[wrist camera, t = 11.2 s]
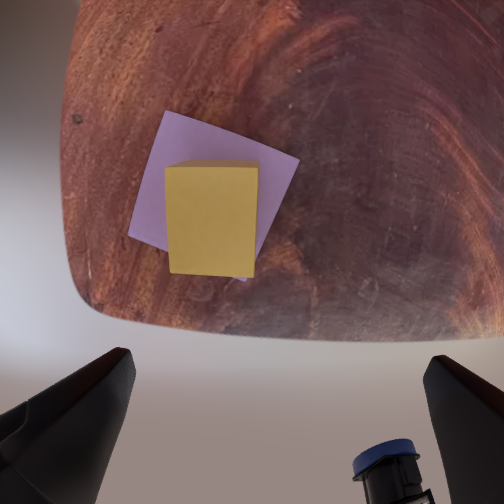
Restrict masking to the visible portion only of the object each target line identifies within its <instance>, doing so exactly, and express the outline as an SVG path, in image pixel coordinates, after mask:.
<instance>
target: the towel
mask: <svg viewBox="0 0 504 504" xmlns="http://www.w3.org/2000/svg"><path fill="white" fill-rule="evenodd" d="M185 160H252V161H260V167H259V192H258V216H257V240H256V257H255V260H256V258H257V256H258V253H259V251H260V249H261V247H262V244H263V242H264V240H265V238H266V236H267V233H268V231H269V229H270V227H271V224H272V222H273V220H274V218H275V215H276V213H277V211H278V209H279V207H280V204H281V202H282V200H283V198H284V195H285V193H286V191H287V189H288V186H289V184H290V182H291V180H292V177H293V175H294V173H295V171H296V168H297V166H298V164H299V162H300V160H299V159H297V158H295V157H292V156H290V155H288V154H285V153H283V152H281V151H278V150H276V149H274V148H271V147H269V146H266V145H264V144H261V143H259V142H256V141H254V140H251V139H249V138H246V137H244V136H241V135H238V134H236V133H233V132H230V131H228V130H225V129H222V128H219V127H216V126H214V125H211V124H208V123H205V122H202V121H199V120H196V119H193V118H190V117H187V116H184V115H181V114H177V113H174V112H171V111H168V110H166V111H165V113H164V116H163V119H162V121H161V124H160V127H159V130H158V132H157V135H156V138H155V141H154V144H153V147H152V150H151V153H150V156H149V159H148V162H147V165H146V169H145V172H144V175H143V179H142V182H141V185H140V189H139V193H138V196H137V200H136V203H135V207H134V211H133V215H132V219H131V223H130V227H129V231H128V236H130V237H133V238H135V239H138V240H140V241H143V242H145V243H147V244H150V245H152V246H155V247H157V248H160V249H162V250H165V251H167V252H168V238H167V221H166V198H165V167H166V166H169V165H173V164H176V163H179V162H182V161H185ZM233 278H236V279H239V280H241V281H244V282H246V280H247V278H248V277H233Z"/></svg>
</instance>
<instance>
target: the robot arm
mask: <svg viewBox="0 0 504 504" xmlns="http://www.w3.org/2000/svg"><path fill="white" fill-rule="evenodd" d="M135 377H136V369H135V365H134V362H133V358H132V354H131V352H130V350H129V349H126V348H120V347H116V348H114V349H112V350H111V351H109V352H107V353H106V354H104V355H102V356H101V357H99V358H97V359H96V360H94V361H92V362H91V363H89V364H87V365H86V366H84V367H82V368H81V369H79V370H77V371H76V372H74V373H73V374H71V375H69V376H67V377H66V378H64V379H62V380H60V381H59V382H57V383H55V384H54V385H52V386H50V387H49V388H47V389H45V390H44V391H42V392H40V393H39V394H37V395H35V396H33V397H32V398H30V399H28V401H25V402H23V403H21V404H20V405H18V406H16V407H15V408H13V409H11V410H9V411H7V412H5V413H4V414H1V415H0V504H95V502H96V499H97V496H98V492H99V489H100V486H101V483H102V480H103V477H104V475H105V471H106V469H107V466H108V463H109V460H110V457H111V454H112V451H113V449H114V446H115V443H116V441H117V437H118V435H119V433H120V430H121V427H122V425H123V422H124V419H125V415H126V412H127V407H128V404H129V400H130V396H131V392H132V388H133V384H134V381H135ZM423 384H424V388H425V393H426V397H427V402H428V407H429V412H430V417H431V421H432V425H433V429H434V432H435V436H436V439H437V443H438V446H439V450H440V454H441V458H442V462H443V466H444V470H445V475H446V479H447V484H448V488H449V493H450V498H451V504H504V392H503V391H501V390H500V389H498V388H497V387H495V386H493V385H492V384H490V383H489V382H487V381H486V380H484V379H482V378H481V377H479V376H478V375H476V374H475V373H473V372H471V371H470V370H468V369H467V368H465V367H463V366H462V365H460V364H459V363H457V362H455V361H454V360H452V359H451V358H449V357H447V356H446V355H438V356H434V357H433V358H432V359H431V361H430V363H429V365H428V367H427V369H426V372H425V374H424V376H423ZM419 458H420V455H419V454H397V455H384V456H382V457H381V458H379V459H378V460H377V461H375V462H374V463H373V464H371V465H370V466H369V467H367V468H366V469H364V470H363V471H361V472H360V473H359V474H357V475H356V476H354V477H353V478H352V479H353V481H363V486H364V491H365V497H366V502H367V504H423V503H425V502H427V503H428V504H435V502H434V499H433V496H432V493H431V490H430V489H427V490H426V491H424V492H423V490H422V487H421V483H422V478H421V474H420V471H419V468H418V465H417V462H416V460H418V459H419Z"/></svg>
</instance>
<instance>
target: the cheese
mask: <svg viewBox="0 0 504 504" xmlns="http://www.w3.org/2000/svg"><path fill="white" fill-rule="evenodd" d="M259 167H260V161H252V160H185V161H182V162H179V163H176V164H173V165H169V166H166V167H165V198H166V221H167V238H168V252H169V265H170V273H179V274H195V275H212V276H230V277H250V278H254V271H255V257H256V240H257V216H258V192H259Z"/></svg>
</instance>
